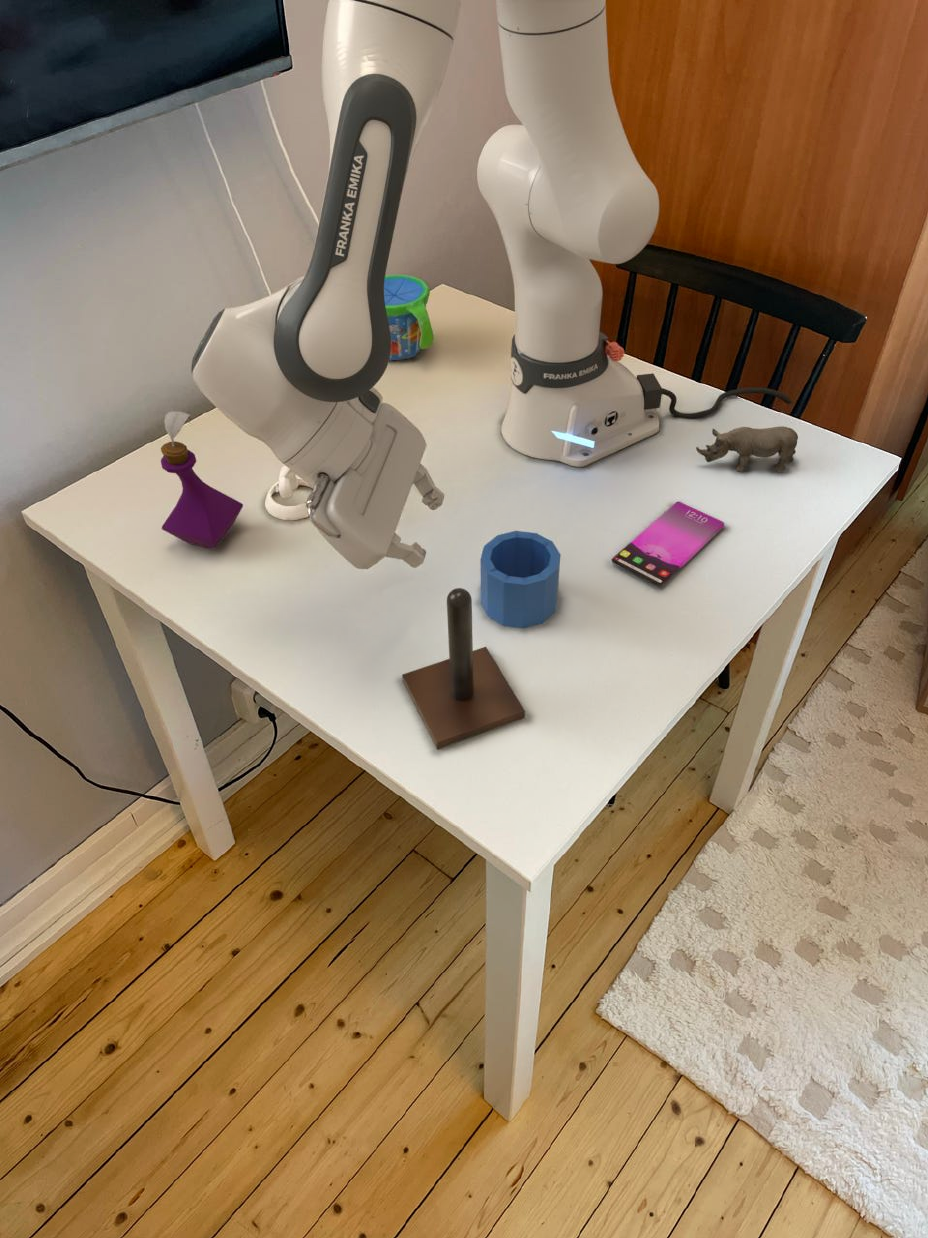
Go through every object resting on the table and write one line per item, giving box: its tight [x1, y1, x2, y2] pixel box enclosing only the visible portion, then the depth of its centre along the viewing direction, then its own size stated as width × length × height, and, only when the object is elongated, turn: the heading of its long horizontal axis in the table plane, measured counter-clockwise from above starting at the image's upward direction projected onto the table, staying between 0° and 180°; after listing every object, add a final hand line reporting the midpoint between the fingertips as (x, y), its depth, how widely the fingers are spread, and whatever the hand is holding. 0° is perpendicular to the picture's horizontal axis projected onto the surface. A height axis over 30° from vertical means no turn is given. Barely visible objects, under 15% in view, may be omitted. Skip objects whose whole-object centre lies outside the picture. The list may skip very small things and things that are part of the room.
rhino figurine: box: [695, 425, 799, 473], centre depth 128 cm, size 4×14×6 cm, turn 89°
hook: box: [264, 464, 314, 521], centre depth 124 cm, size 8×12×7 cm
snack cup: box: [384, 274, 435, 361], centre depth 149 cm, size 16×10×10 cm
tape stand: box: [401, 587, 526, 750], centre depth 97 cm, size 10×10×16 cm
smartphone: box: [611, 501, 725, 587], centre depth 119 cm, size 7×15×1 cm, turn 139°
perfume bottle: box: [160, 410, 244, 550], centre depth 116 cm, size 8×8×18 cm
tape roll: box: [479, 530, 562, 629], centre depth 111 cm, size 9×9×7 cm
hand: (430, 531), depth 103 cm, fingers open, 8 cm apart
